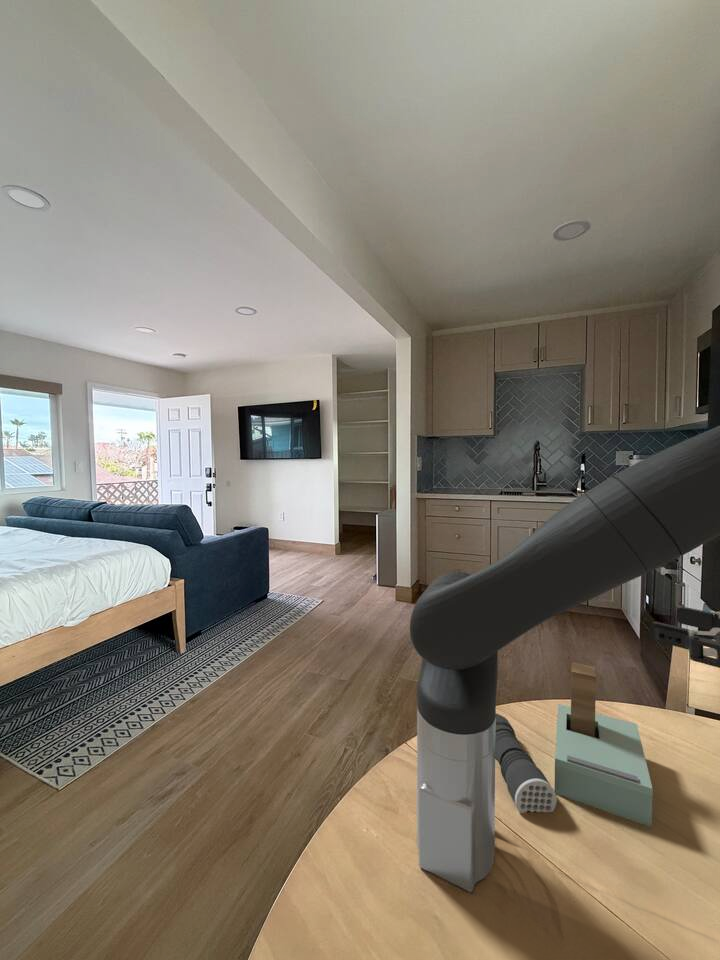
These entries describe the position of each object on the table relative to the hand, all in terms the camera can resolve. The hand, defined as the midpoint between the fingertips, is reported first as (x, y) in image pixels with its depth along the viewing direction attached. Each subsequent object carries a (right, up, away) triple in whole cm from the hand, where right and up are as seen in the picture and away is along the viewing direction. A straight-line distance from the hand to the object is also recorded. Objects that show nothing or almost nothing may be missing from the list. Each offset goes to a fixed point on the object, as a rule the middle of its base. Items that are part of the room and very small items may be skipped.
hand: (665, 621), depth 52 cm
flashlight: (-17, -26, +7) cm, 32 cm away
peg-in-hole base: (-5, -26, +7) cm, 27 cm away
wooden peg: (-6, -25, +10) cm, 27 cm away
